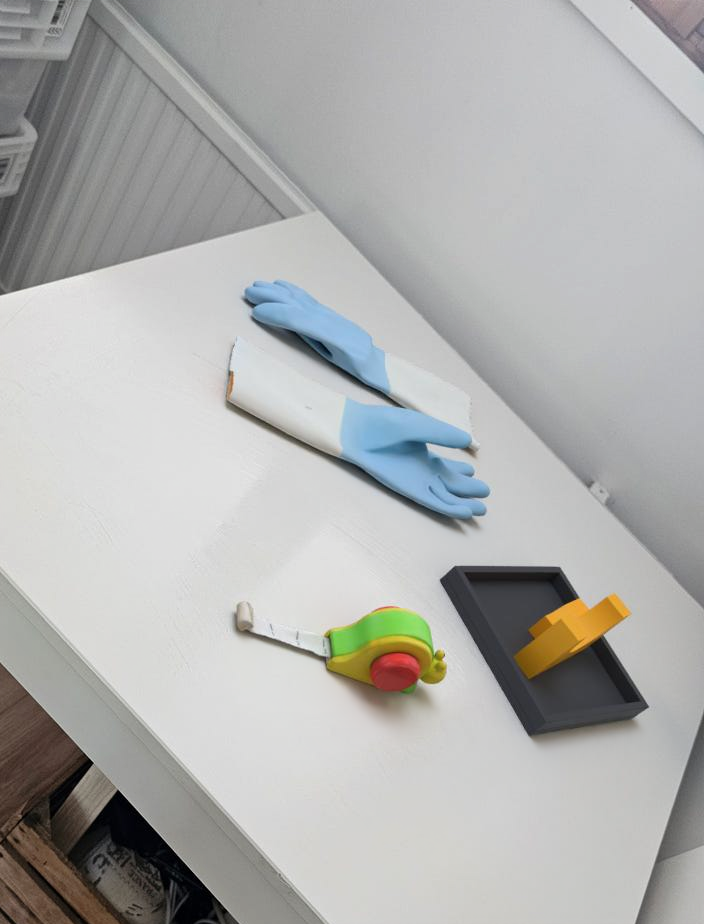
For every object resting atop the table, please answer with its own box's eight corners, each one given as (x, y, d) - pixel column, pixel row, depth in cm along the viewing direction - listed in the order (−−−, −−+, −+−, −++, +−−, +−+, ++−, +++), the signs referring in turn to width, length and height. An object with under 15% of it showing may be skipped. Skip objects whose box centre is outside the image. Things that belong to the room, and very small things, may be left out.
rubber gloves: (241, 265, 118) (271, 218, 114) (467, 399, 128) (502, 361, 124) (222, 404, 99) (257, 355, 95) (487, 548, 110) (530, 509, 105)
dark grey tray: (544, 579, 112) (560, 566, 111) (632, 718, 105) (649, 707, 104) (439, 579, 101) (454, 565, 100) (528, 735, 94) (546, 722, 93)
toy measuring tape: (430, 719, 88) (481, 678, 84) (232, 649, 80) (278, 599, 76) (420, 661, 92) (468, 618, 88) (231, 588, 84) (274, 538, 80)
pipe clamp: (557, 616, 107) (603, 579, 103) (583, 649, 106) (631, 613, 102) (500, 642, 99) (548, 603, 95) (529, 679, 98) (578, 641, 94)
